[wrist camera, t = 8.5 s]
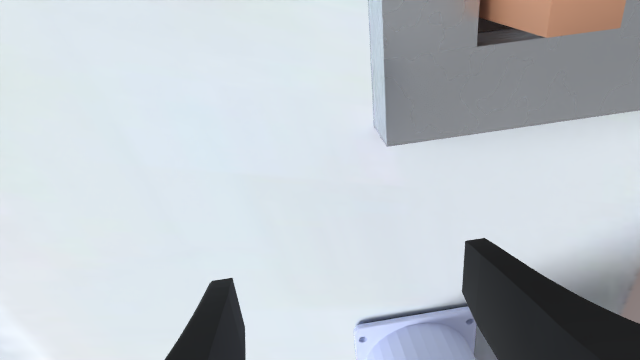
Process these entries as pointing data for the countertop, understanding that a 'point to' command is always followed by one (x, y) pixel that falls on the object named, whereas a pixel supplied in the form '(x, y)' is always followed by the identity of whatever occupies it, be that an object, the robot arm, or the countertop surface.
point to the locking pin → (554, 15)
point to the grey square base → (491, 72)
